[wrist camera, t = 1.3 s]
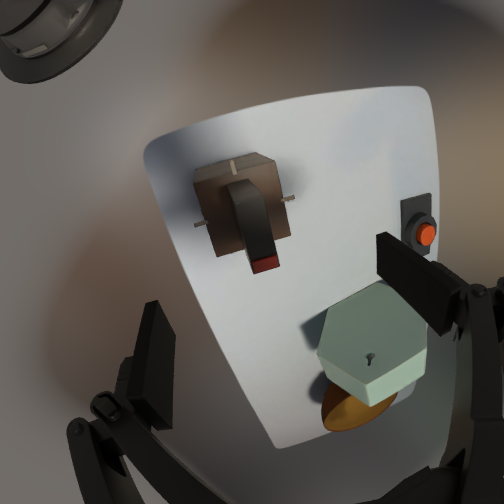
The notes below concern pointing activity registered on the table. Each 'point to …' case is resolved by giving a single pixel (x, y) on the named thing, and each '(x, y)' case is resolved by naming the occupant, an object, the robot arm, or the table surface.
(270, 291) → the table surface
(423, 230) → the button
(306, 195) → the table surface
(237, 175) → the pegged wooden cube
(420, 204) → the button box
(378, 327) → the sage hexagonal prism
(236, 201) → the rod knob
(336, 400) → the bowl
